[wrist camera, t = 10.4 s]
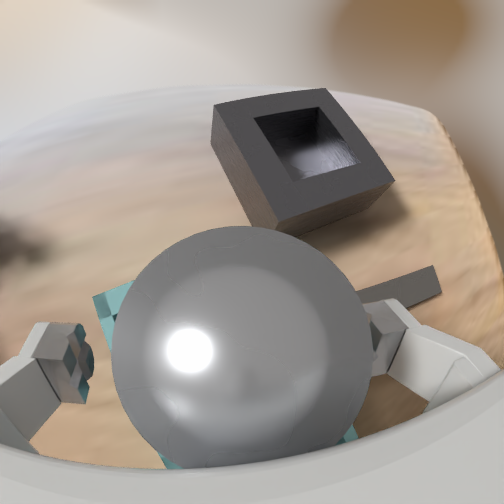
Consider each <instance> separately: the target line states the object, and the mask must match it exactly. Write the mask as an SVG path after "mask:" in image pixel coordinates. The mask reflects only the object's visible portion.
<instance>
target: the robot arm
mask: <svg viewBox="0 0 504 504" xmlns="http://www.w3.org/2000/svg"><path fill="white" fill-rule="evenodd" d="M362 305H363V307H364V310H365V312H366V315H367V319H368V322H369V326H370V330H371V337H372V344H373V365H372V374H371V377H374V376H378V375H382V374H385V373H387V374H388V375H389V376H391V377H392V378H394V379H395V380H397V381H398V382H400V383H401V384H403V385H404V386H406V387H407V388H409V389H410V390H412V391H413V392H415V393H417V394H418V395H420V396H421V397H423V398H424V399H426V400H427V401H429V403H428V405H427V406H426V408H425V409H424V411H423V413H422V414H421V415H419V416H417V417H415V418H412V419H410V420H407V421H405V422H403V423H400V424H398V425H395V426H393V427H390V428H387V429H385V430H382V431H379V432H377V433H374V434H371V435H368V436H365V437H362V438H359V439H356V440H353V441H349V442H346V443H343V444H339V445H336V446H332V447H329V448H325V449H321V450H317V451H313V452H309V453H304V454H300V455H295V456H290V457H285V458H280V459H274V460H268V461H262V462H255V463H248V464H240V465H231V466H221V467H209V468H190V469H143V468H125V467H113V466H103V465H95V464H87V463H81V462H74V461H68V460H63V459H58V458H53V457H48V456H44V455H40V454H39V452H38V451H37V450H36V449H35V448H34V447H33V446H32V445H31V444H30V443H29V441H30V439H31V438H32V437H33V436H34V435H35V433H36V432H37V431H38V430H39V429H40V428H41V426H42V425H43V424H44V423H45V422H46V421H47V419H48V418H49V417H50V416H51V415H52V414H53V413H54V411H55V410H56V409H57V408H58V407H59V406H60V405H61V402H64V403H76V404H86V399H87V395H88V391H89V385H88V383H87V380H88V379H89V378H90V377H92V375H93V370H94V357H93V352H92V349H91V347H90V345H89V344H87V343H86V342H85V341H84V339H85V336H86V333H85V331H84V328H83V326H82V325H81V324H79V323H59V322H37V323H36V324H35V325H34V327H33V329H32V331H31V332H30V334H29V336H28V338H27V340H26V342H25V343H24V345H23V347H22V349H21V351H20V353H19V355H18V357H17V356H13V357H12V358H11V359H9V360H8V361H6V362H5V363H4V364H2V365H1V366H0V504H504V369H503V370H501V369H500V368H499V367H498V366H497V365H496V364H495V363H494V362H493V360H492V359H491V358H490V357H489V356H488V355H487V354H486V353H485V352H484V351H483V350H482V349H481V348H479V347H477V346H474V345H472V344H470V343H467V342H465V341H463V340H460V339H458V338H455V337H453V336H451V335H448V334H446V333H444V332H441V331H439V330H436V329H434V328H432V327H429V326H427V325H421V324H420V323H419V322H418V321H417V320H416V319H415V318H414V317H413V316H412V315H411V314H410V313H409V312H408V311H407V310H406V309H405V307H404V306H403V305H402V304H401V303H400V302H399V301H398V300H396V299H394V298H391V299H386V300H381V301H378V302H372V303H365V304H362Z"/></svg>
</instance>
